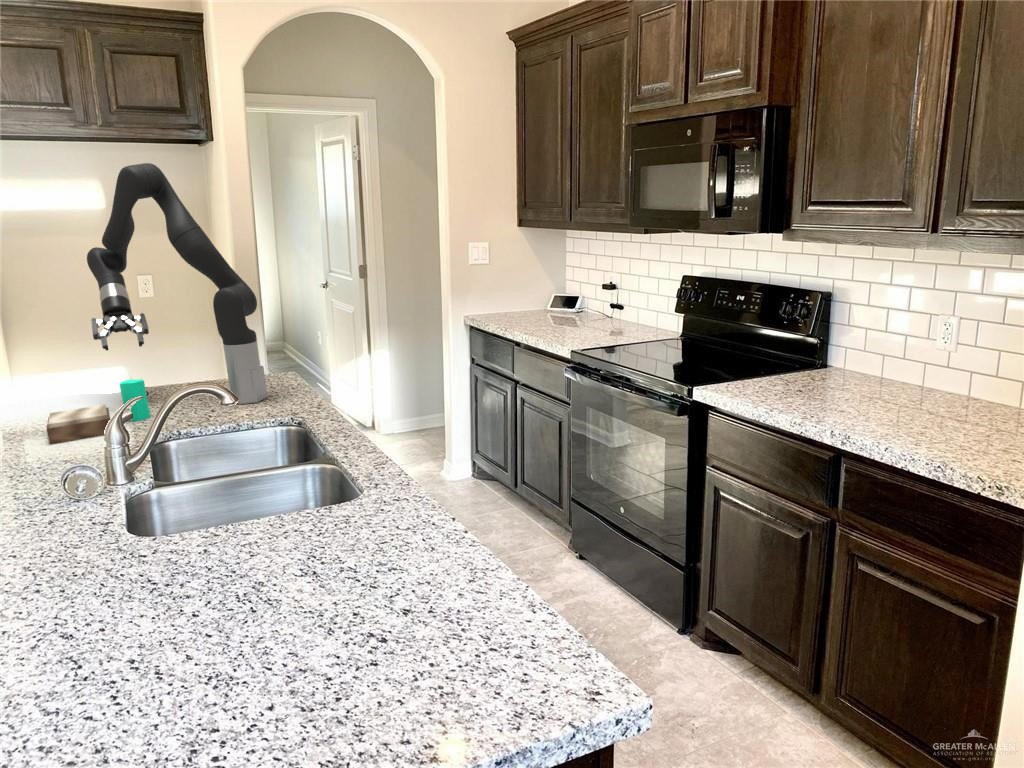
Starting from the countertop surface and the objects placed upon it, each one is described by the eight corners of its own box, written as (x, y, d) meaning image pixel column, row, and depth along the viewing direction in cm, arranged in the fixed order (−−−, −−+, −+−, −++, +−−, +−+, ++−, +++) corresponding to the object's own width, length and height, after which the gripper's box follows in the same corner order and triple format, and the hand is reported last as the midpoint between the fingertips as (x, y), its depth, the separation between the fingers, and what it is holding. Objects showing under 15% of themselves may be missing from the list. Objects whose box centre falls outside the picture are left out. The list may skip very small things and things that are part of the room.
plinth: (110, 421, 206) (107, 403, 204) (112, 433, 194) (109, 414, 192) (51, 431, 199) (47, 413, 198) (49, 444, 187) (45, 425, 186)
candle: (143, 420, 204) (135, 377, 201) (121, 421, 205) (113, 378, 202) (154, 414, 210) (146, 372, 207) (133, 415, 210) (125, 373, 208)
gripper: (86, 296, 214) (94, 342, 207) (141, 291, 220) (150, 335, 213) (89, 313, 220) (97, 358, 213) (142, 308, 226) (152, 351, 219)
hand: (123, 346), depth 213 cm, fingers open, 8 cm apart
